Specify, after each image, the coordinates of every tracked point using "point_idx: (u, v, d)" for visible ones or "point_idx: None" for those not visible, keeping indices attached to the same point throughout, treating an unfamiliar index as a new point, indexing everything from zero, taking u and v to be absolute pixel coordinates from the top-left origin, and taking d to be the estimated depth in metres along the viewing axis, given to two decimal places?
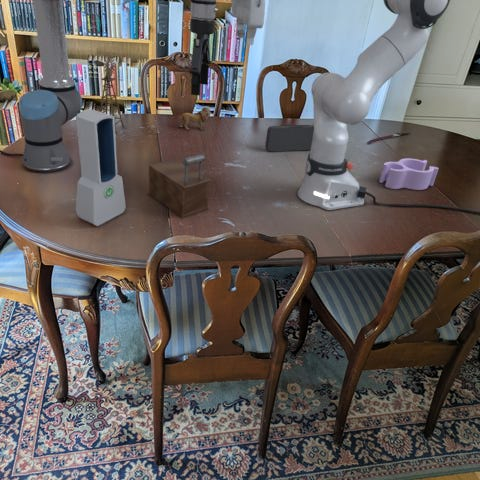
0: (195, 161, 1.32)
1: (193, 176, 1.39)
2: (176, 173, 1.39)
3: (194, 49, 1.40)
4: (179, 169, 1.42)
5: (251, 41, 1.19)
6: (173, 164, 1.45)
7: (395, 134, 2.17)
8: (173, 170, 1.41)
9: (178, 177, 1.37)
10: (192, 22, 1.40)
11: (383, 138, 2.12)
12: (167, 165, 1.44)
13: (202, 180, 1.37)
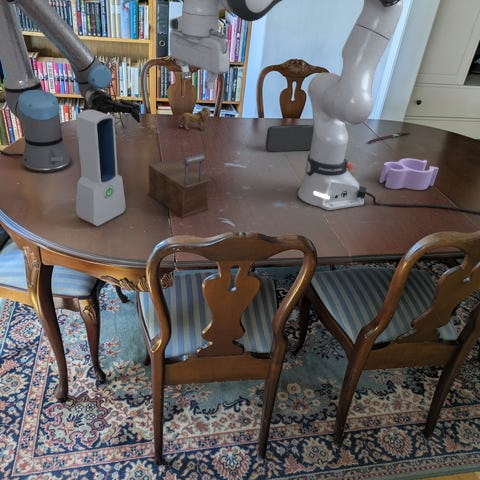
0: (195, 161, 1.32)
1: (193, 176, 1.39)
2: (176, 173, 1.39)
3: None
4: (179, 169, 1.42)
5: (212, 85, 1.18)
6: (173, 164, 1.45)
7: (395, 134, 2.17)
8: (173, 170, 1.41)
9: (178, 177, 1.37)
10: (106, 93, 1.62)
11: (383, 138, 2.12)
12: (167, 165, 1.44)
13: (202, 180, 1.37)
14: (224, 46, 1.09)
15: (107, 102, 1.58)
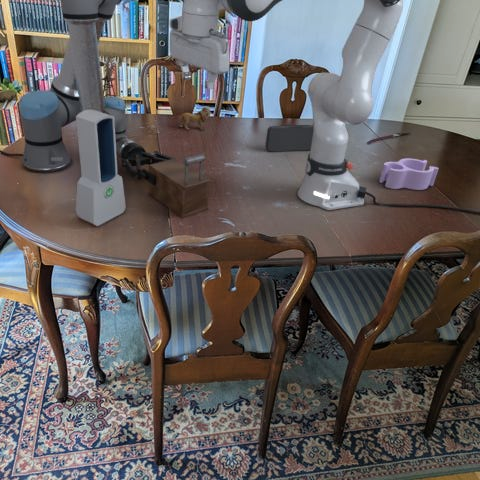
0: (195, 161, 1.32)
1: (193, 176, 1.39)
2: (176, 173, 1.39)
3: None
4: (179, 169, 1.42)
5: (212, 85, 1.18)
6: (173, 164, 1.45)
7: (395, 134, 2.17)
8: (173, 170, 1.41)
9: (178, 177, 1.37)
10: None
11: (383, 138, 2.12)
12: (167, 165, 1.44)
13: (202, 180, 1.37)
14: (224, 46, 1.09)
15: (144, 154, 1.54)
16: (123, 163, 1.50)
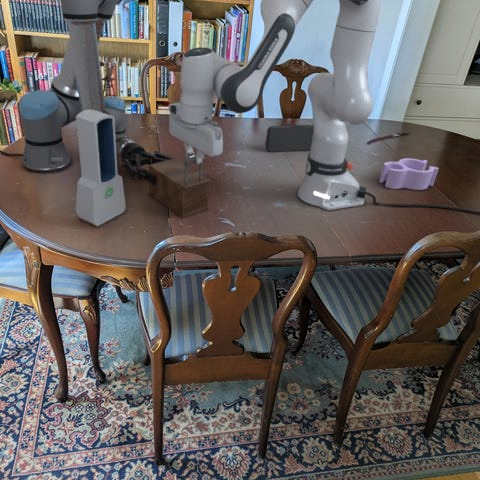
0: None
1: (193, 176, 1.39)
2: (176, 173, 1.39)
3: None
4: (179, 169, 1.42)
5: (200, 160, 1.31)
6: (173, 164, 1.45)
7: (395, 134, 2.17)
8: (173, 170, 1.41)
9: (178, 177, 1.37)
10: None
11: (383, 138, 2.12)
12: (167, 165, 1.44)
13: (202, 180, 1.37)
14: (218, 134, 1.21)
15: (144, 154, 1.54)
16: (123, 163, 1.50)
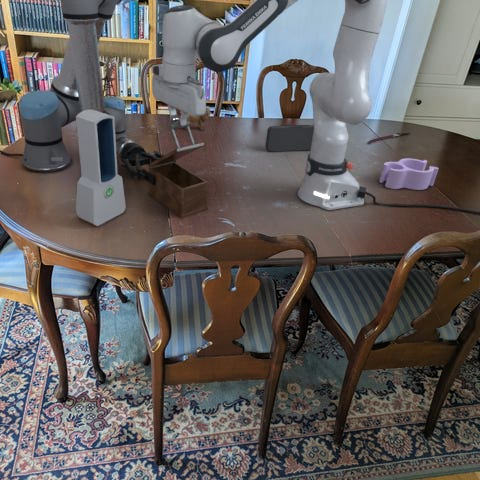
0: None
1: None
2: None
3: None
4: None
5: (184, 122, 1.31)
6: None
7: (395, 134, 2.17)
8: None
9: None
10: None
11: (383, 138, 2.12)
12: None
13: None
14: (200, 92, 1.20)
15: (143, 154, 1.54)
16: (123, 163, 1.50)
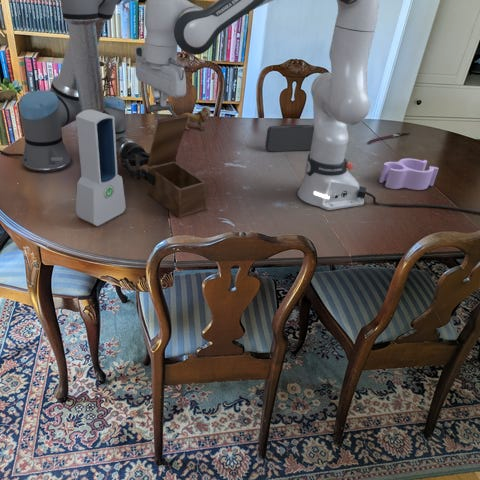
0: None
1: None
2: None
3: None
4: None
5: (164, 103, 1.35)
6: None
7: (395, 134, 2.17)
8: None
9: None
10: None
11: (383, 138, 2.12)
12: None
13: None
14: (181, 74, 1.24)
15: (143, 154, 1.54)
16: (122, 163, 1.50)
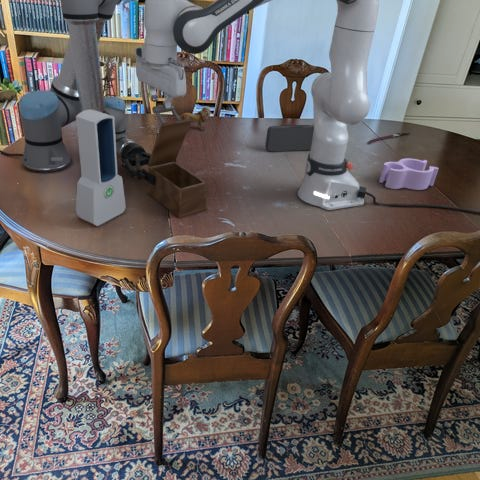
0: None
1: None
2: None
3: None
4: None
5: (169, 105, 1.34)
6: None
7: (395, 134, 2.17)
8: None
9: None
10: None
11: (383, 138, 2.12)
12: None
13: None
14: (180, 73, 1.24)
15: (144, 154, 1.54)
16: (123, 163, 1.50)
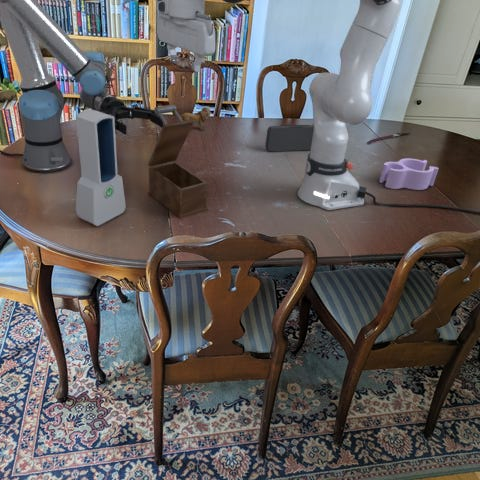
0: (165, 107, 1.35)
1: None
2: None
3: None
4: None
5: (198, 67, 1.19)
6: None
7: (395, 134, 2.17)
8: None
9: None
10: None
11: (383, 138, 2.12)
12: None
13: None
14: (210, 28, 1.11)
15: (123, 107, 1.55)
16: None
